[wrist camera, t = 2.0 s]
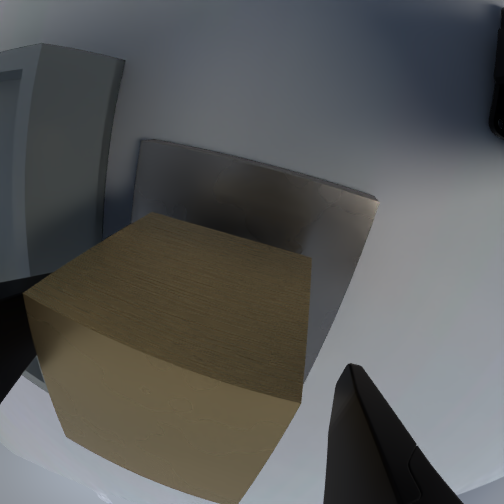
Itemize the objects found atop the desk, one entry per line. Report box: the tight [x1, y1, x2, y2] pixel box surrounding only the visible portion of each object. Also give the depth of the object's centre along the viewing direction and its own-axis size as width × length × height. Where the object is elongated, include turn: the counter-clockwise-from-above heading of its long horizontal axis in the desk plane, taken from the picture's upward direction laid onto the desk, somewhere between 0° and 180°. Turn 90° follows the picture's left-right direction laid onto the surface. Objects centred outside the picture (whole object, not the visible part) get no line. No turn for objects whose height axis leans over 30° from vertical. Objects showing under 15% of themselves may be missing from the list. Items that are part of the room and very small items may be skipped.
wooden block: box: [23, 212, 312, 504], centre depth 8 cm, size 5×5×6 cm
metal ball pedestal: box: [131, 139, 379, 384], centre depth 10 cm, size 9×9×8 cm
